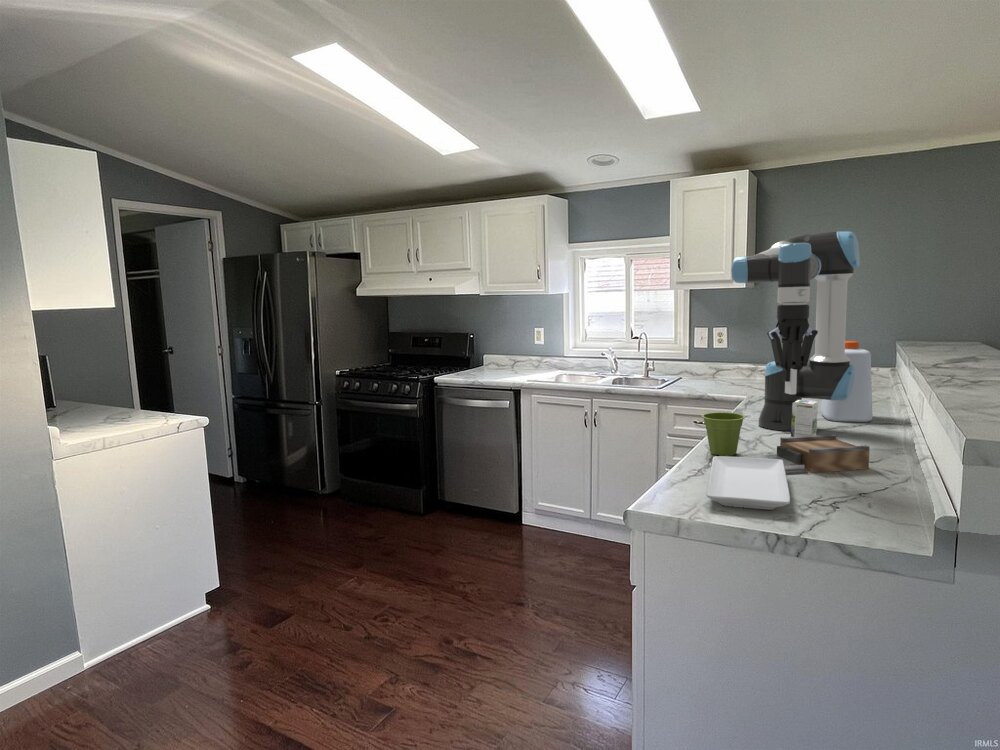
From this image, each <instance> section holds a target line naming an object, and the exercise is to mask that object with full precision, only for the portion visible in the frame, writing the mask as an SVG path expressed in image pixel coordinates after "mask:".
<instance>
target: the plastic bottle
mask: <svg viewBox="0 0 1000 750" xmlns="http://www.w3.org/2000/svg"><path fill="white" fill-rule="evenodd" d="M859 345H860V344H859V341H854V340H845V355H846V356H847V357H848V358H849V359H850V365H853V366H855V377H854V382H853V386H852V390H851V393H850V395H849V397H848V398H847V399H846V400H833V401H831V400H824V399H821V405H820V415H822V416H823V417H824V418H825V419H826V420H828V421H831V422H841V423H844V422H846V423H868V422H870V421H872V420H873V415H874V414H873V388H872V387H873V386H872V385H873V384H872V354H871V352H870V351H869V350H867V349H863V348H859Z"/></svg>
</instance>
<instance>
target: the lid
mask: <svg viewBox="0 0 1000 750" xmlns="http://www.w3.org/2000/svg"><path fill="white" fill-rule="evenodd" d="M802 455H803V454H801V453H799V452H796V451H794V450H791V449H789V448H787V447H784V446H780V445H776V454H759V455H758V454H757V455H745V456H740V457H746V458H763V459H779V460H783V463H784V468H785V471H786V470H801V469H804V467H805V465H804V464H802Z"/></svg>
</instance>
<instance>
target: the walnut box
mask: <svg viewBox="0 0 1000 750" xmlns="http://www.w3.org/2000/svg"><path fill="white" fill-rule="evenodd" d="M779 443H780V444H779V446H784V447H787V448H789V449H791V450H794V451H796V452H799V453H801V454H803V455H802V464H804V465H805V467H804V469H805V470H807V471H808V472H809V473H813V474H815V473H814V472H816V473H828V472H843V471H857V470H856V469H861V470H869V467H870V446H869V445H855V444H852V443H849V442H847V441H843V440H840V439H838V438H837V435H836V434H821V435H816V436H802V437H791V436H790V437H789V436H787V437H780V440H779Z"/></svg>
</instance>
